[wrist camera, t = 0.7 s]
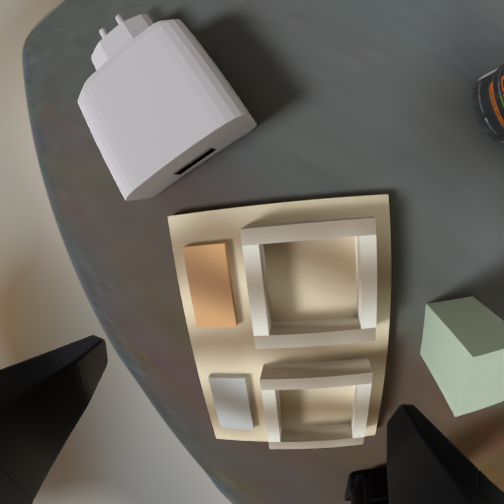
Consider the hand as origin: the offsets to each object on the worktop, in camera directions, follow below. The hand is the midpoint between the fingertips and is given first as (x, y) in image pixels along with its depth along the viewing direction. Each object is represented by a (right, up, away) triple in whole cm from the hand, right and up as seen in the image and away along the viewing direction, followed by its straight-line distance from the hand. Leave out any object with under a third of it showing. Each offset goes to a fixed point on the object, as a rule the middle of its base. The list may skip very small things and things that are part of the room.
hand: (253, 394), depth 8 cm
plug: (+15, -2, +12) cm, 20 cm away
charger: (-7, +17, +12) cm, 22 cm away
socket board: (+3, -3, +14) cm, 15 cm away
